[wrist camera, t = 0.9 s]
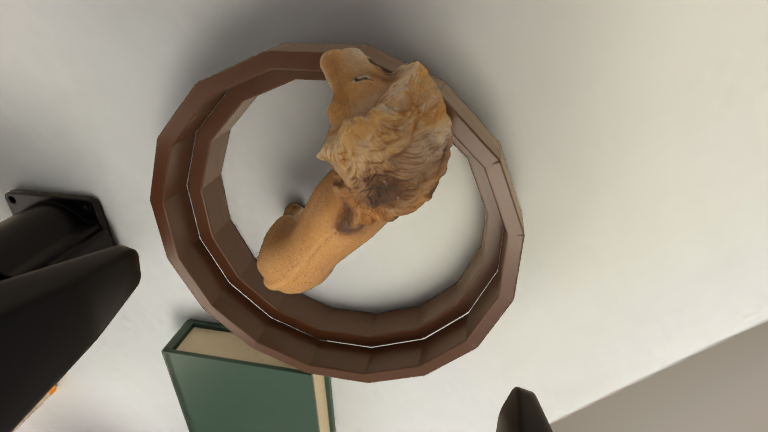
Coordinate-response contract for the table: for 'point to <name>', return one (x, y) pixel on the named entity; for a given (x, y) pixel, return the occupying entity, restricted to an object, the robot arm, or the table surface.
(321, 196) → the lion figurine
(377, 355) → the ring
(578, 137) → the table surface
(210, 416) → the book
